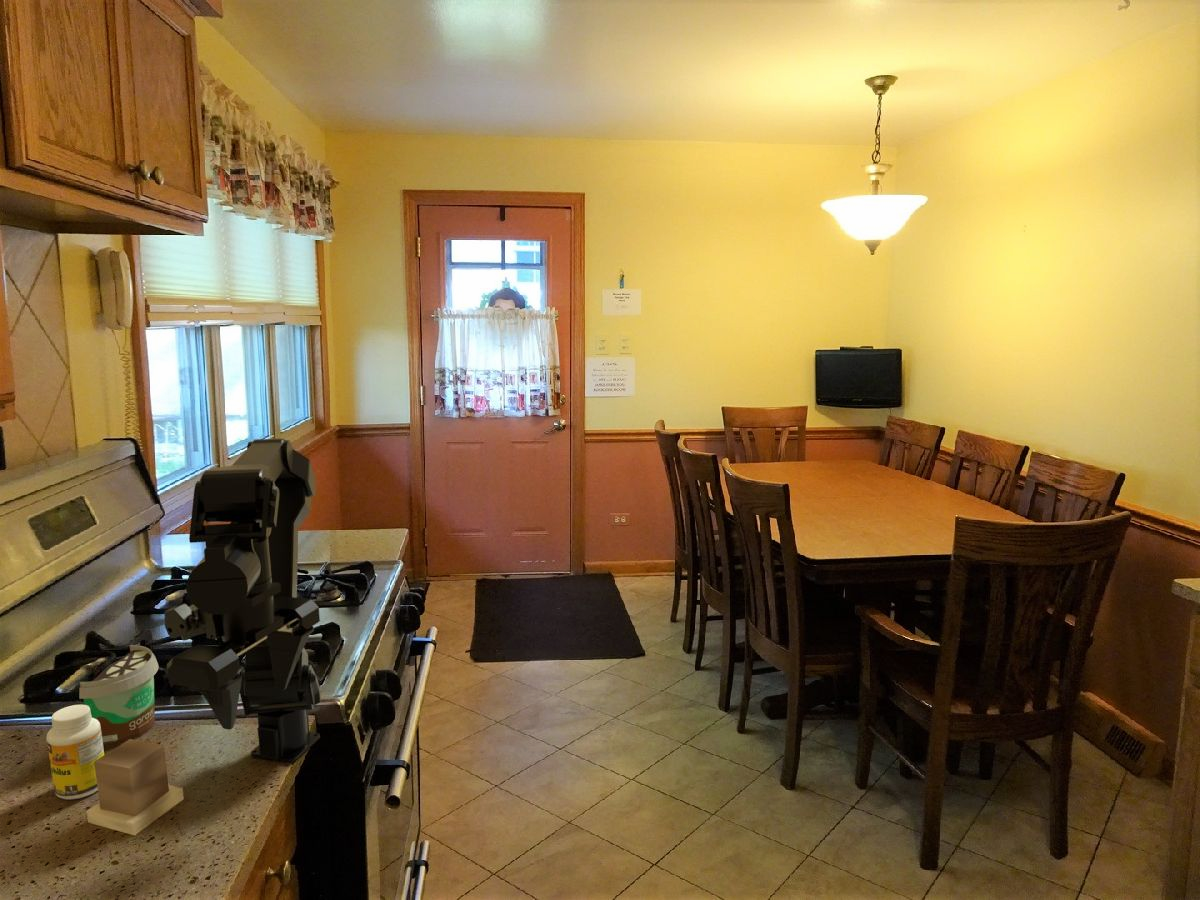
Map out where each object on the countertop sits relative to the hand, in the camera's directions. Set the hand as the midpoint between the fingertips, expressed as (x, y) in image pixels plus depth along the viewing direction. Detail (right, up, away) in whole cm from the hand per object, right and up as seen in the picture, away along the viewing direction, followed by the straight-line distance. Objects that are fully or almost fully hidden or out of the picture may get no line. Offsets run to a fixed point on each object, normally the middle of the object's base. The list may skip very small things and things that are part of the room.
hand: (255, 708), depth 95 cm
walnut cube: (-15, -11, +2) cm, 19 cm away
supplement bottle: (-24, -12, +7) cm, 28 cm away
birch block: (-15, -13, +2) cm, 20 cm away
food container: (-25, -9, +20) cm, 33 cm away
